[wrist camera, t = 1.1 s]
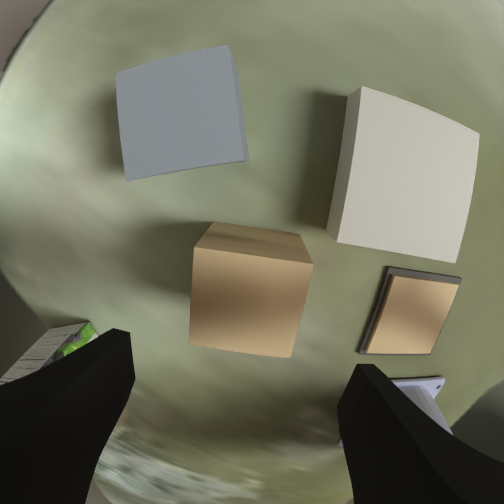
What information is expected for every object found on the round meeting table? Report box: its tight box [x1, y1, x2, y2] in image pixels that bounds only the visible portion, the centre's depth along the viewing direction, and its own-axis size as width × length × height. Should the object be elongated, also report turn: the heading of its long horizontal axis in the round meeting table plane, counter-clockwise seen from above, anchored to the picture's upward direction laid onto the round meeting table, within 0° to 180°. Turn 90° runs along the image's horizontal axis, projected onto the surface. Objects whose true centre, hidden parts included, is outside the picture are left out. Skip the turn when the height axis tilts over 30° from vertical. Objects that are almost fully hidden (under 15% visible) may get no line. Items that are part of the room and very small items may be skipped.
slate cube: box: [115, 45, 249, 181], centre depth 12 cm, size 5×5×5 cm
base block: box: [326, 86, 479, 263], centre depth 14 cm, size 8×8×3 cm
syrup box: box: [0, 322, 98, 385], centre depth 13 cm, size 6×6×14 cm
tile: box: [358, 266, 462, 355], centre depth 18 cm, size 7×7×1 cm
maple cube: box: [189, 222, 314, 358], centre depth 15 cm, size 5×5×5 cm
